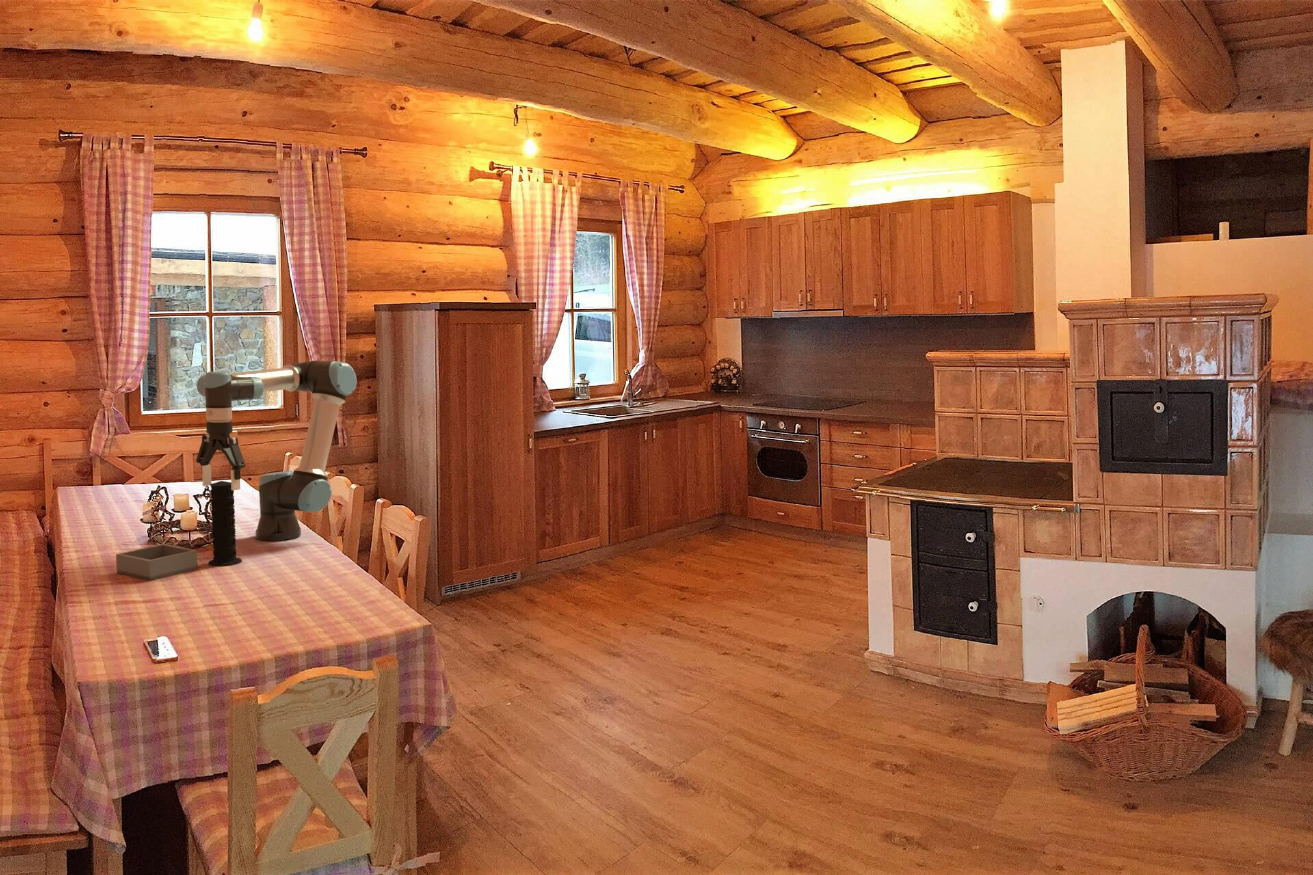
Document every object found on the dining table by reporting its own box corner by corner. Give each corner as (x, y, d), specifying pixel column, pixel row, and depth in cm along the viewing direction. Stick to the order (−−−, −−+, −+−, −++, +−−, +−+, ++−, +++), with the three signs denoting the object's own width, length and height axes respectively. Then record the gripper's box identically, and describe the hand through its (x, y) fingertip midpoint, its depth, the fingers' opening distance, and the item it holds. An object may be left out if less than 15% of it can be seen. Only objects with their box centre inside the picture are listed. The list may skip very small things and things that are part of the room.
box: (164, 562, 321) (163, 543, 320) (197, 569, 314) (196, 550, 313) (117, 573, 307) (116, 554, 307) (150, 580, 300) (149, 561, 299)
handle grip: (201, 565, 318) (229, 567, 316) (197, 482, 315) (226, 484, 313) (220, 557, 328) (248, 559, 326) (217, 477, 325) (245, 478, 323)
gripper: (182, 419, 319) (185, 485, 322) (235, 424, 307) (238, 493, 310) (203, 417, 326) (205, 482, 328) (256, 422, 314) (258, 489, 316)
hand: (221, 487), depth 319 cm, fingers open, 13 cm apart
